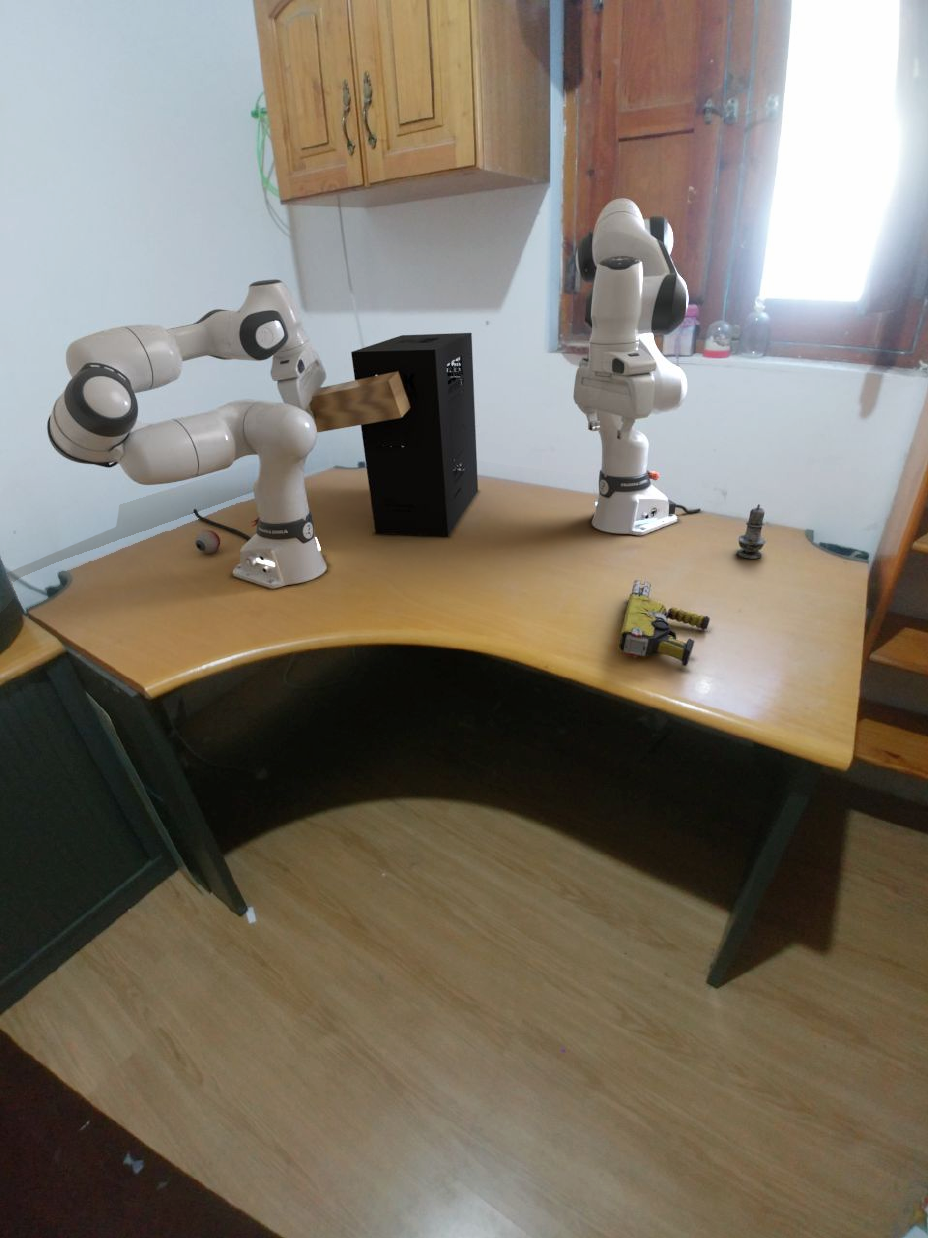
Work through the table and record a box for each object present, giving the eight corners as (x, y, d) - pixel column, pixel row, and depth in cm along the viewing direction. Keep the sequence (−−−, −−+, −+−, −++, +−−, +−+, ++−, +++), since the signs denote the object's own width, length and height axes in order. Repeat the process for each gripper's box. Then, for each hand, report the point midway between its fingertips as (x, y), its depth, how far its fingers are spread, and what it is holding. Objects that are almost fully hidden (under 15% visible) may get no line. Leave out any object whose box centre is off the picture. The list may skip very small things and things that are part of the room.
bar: (410, 407, 141) (398, 370, 136) (401, 417, 137) (388, 380, 132) (320, 423, 152) (305, 390, 146) (309, 433, 148) (294, 400, 142)
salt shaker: (765, 559, 136) (776, 508, 130) (737, 558, 137) (747, 508, 131) (759, 549, 141) (770, 499, 135) (733, 548, 142) (742, 499, 136)
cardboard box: (448, 536, 158) (435, 349, 135) (375, 533, 162) (351, 351, 140) (477, 490, 189) (471, 332, 167) (416, 489, 194) (401, 335, 171)
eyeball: (192, 555, 155) (186, 534, 152) (210, 546, 160) (204, 525, 157) (210, 558, 153) (204, 536, 150) (227, 548, 158) (222, 527, 155)
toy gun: (711, 591, 118) (634, 577, 122) (713, 651, 98) (620, 632, 102) (705, 612, 120) (629, 597, 124) (706, 675, 100) (615, 655, 104)
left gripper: (295, 342, 145) (316, 397, 155) (267, 377, 131) (292, 435, 140) (319, 337, 144) (339, 393, 153) (293, 372, 129) (317, 431, 139)
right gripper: (567, 355, 119) (564, 427, 125) (634, 365, 102) (627, 447, 109) (593, 352, 121) (590, 423, 128) (663, 362, 104) (654, 442, 111)
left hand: (317, 413), depth 147 cm, fingers closed on bar, 6 cm apart
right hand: (607, 434), depth 118 cm, fingers open, 8 cm apart
